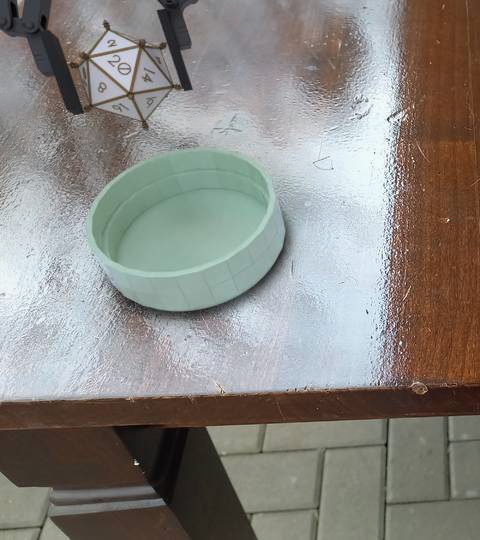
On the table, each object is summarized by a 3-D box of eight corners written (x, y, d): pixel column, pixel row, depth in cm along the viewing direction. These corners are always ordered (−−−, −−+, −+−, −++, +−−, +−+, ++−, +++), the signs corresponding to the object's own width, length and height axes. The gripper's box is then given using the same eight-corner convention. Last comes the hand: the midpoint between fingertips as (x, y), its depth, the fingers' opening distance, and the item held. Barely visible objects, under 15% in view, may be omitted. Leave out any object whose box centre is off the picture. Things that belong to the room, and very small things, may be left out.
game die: (176, 139, 68) (215, 73, 62) (95, 159, 62) (129, 88, 55) (123, 66, 68) (157, -7, 62) (36, 79, 62) (64, -1, 55)
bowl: (86, 317, 68) (59, 279, 63) (135, 189, 80) (115, 149, 75) (274, 312, 69) (260, 273, 64) (295, 185, 80) (285, 145, 76)
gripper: (179, -163, 63) (256, 81, 67) (-84, -131, 58) (13, 134, 61) (168, -214, 56) (255, 63, 59) (-133, -183, 51) (-21, 121, 54)
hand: (132, 99), depth 60 cm, fingers closed on game die, 8 cm apart
